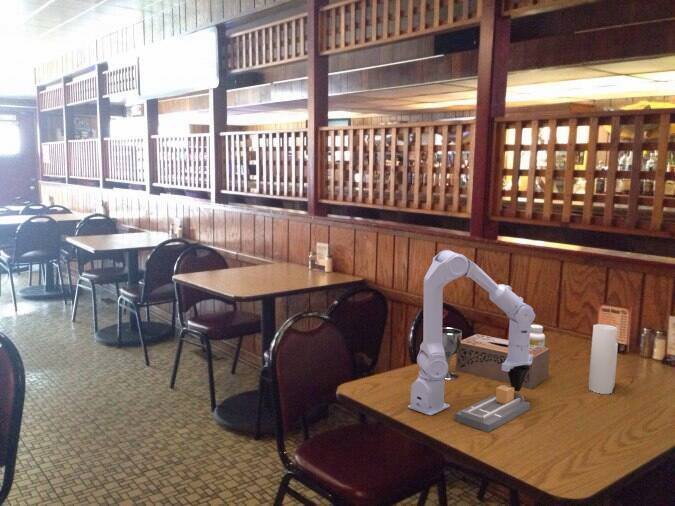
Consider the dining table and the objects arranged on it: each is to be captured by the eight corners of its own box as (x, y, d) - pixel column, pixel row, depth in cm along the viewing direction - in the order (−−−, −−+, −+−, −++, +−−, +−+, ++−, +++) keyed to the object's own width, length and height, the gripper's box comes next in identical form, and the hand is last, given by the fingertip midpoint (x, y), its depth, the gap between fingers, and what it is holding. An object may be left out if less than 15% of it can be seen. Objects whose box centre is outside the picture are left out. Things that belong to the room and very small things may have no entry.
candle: (611, 395, 174) (616, 330, 172) (585, 391, 178) (590, 327, 176) (615, 384, 184) (620, 323, 182) (590, 380, 188) (595, 319, 185)
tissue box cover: (547, 378, 190) (549, 348, 189) (530, 389, 179) (532, 358, 178) (475, 361, 207) (476, 333, 205) (455, 371, 196) (457, 342, 194)
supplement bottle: (519, 359, 209) (521, 324, 207) (533, 357, 211) (536, 323, 210) (533, 365, 203) (535, 329, 201) (547, 363, 205) (550, 327, 204)
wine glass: (431, 377, 188) (433, 331, 186) (439, 370, 195) (441, 326, 193) (455, 381, 185) (457, 335, 183) (462, 374, 192) (464, 329, 190)
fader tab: (506, 404, 160) (507, 390, 159) (495, 401, 162) (496, 387, 162) (513, 400, 163) (514, 387, 162) (503, 397, 165) (503, 384, 164)
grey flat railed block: (487, 432, 147) (488, 420, 147) (454, 420, 154) (454, 408, 154) (529, 409, 163) (530, 397, 163) (497, 399, 170) (498, 388, 169)
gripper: (519, 352, 157) (516, 400, 159) (543, 342, 167) (540, 387, 169) (495, 346, 162) (493, 393, 164) (521, 337, 172) (518, 381, 174)
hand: (515, 390), depth 167 cm, fingers closed
